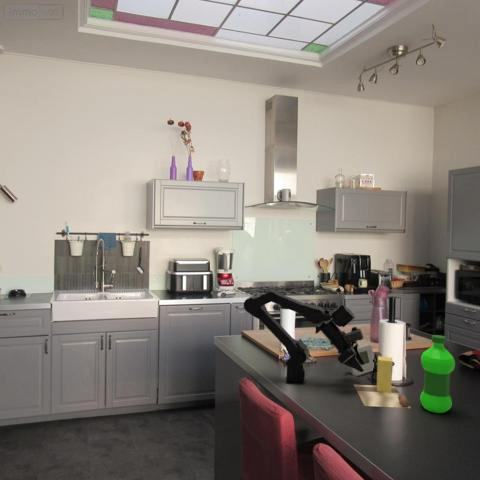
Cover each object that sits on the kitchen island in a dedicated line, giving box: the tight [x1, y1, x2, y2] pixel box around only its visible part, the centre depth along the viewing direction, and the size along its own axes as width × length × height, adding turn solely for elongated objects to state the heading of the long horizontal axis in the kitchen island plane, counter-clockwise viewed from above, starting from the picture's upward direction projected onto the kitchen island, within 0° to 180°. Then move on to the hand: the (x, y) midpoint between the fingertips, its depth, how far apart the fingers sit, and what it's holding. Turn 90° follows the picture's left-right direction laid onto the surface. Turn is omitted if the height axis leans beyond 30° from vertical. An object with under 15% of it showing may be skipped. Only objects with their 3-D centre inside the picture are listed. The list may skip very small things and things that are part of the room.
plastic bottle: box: [419, 334, 456, 414], centre depth 163 cm, size 10×10×25 cm
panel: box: [353, 384, 411, 409], centre depth 175 cm, size 15×21×1 cm
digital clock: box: [346, 343, 375, 377], centre depth 203 cm, size 16×9×11 cm, turn 121°
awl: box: [397, 391, 410, 407], centre depth 169 cm, size 2×10×2 cm, turn 177°
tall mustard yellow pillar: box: [376, 356, 394, 393], centre depth 180 cm, size 5×5×12 cm
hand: (363, 367), depth 182 cm, fingers open, 9 cm apart
